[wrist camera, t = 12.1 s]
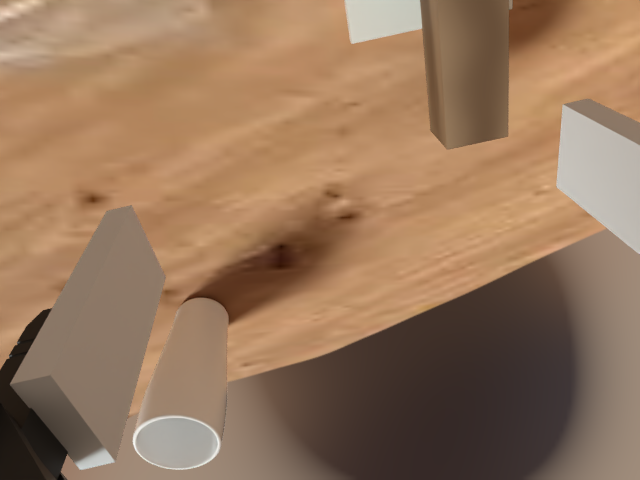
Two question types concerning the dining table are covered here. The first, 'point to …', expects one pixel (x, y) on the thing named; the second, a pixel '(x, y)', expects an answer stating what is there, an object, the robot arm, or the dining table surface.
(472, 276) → the dining table surface
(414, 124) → the dining table surface
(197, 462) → the drinking glass
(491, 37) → the batten
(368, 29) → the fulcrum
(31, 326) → the robot arm
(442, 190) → the dining table surface
